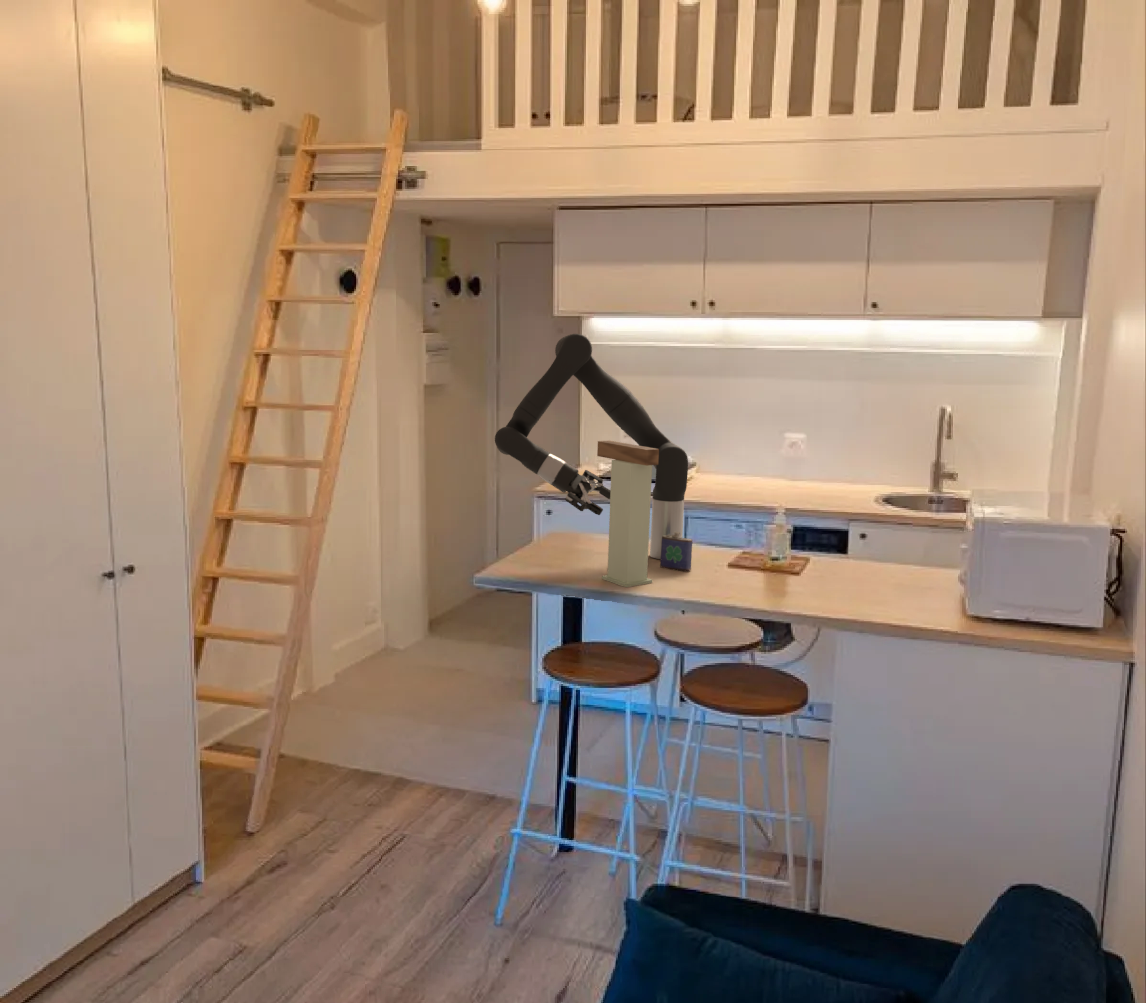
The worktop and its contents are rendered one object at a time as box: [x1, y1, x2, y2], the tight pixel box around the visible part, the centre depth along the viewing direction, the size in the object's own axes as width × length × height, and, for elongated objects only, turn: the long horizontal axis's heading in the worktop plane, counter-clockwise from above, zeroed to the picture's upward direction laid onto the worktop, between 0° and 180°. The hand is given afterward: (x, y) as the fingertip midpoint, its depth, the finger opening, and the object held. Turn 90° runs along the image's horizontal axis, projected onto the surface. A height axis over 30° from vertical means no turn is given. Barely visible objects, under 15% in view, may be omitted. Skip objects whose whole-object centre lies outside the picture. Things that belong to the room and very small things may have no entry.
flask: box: [659, 532, 693, 572], centre depth 283 cm, size 9×3×11 cm, turn 60°
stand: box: [601, 459, 653, 588], centre depth 266 cm, size 9×10×32 cm
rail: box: [596, 440, 659, 466], centre depth 265 cm, size 4×20×4 cm, turn 37°
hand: (606, 504), depth 280 cm, fingers open, 8 cm apart
